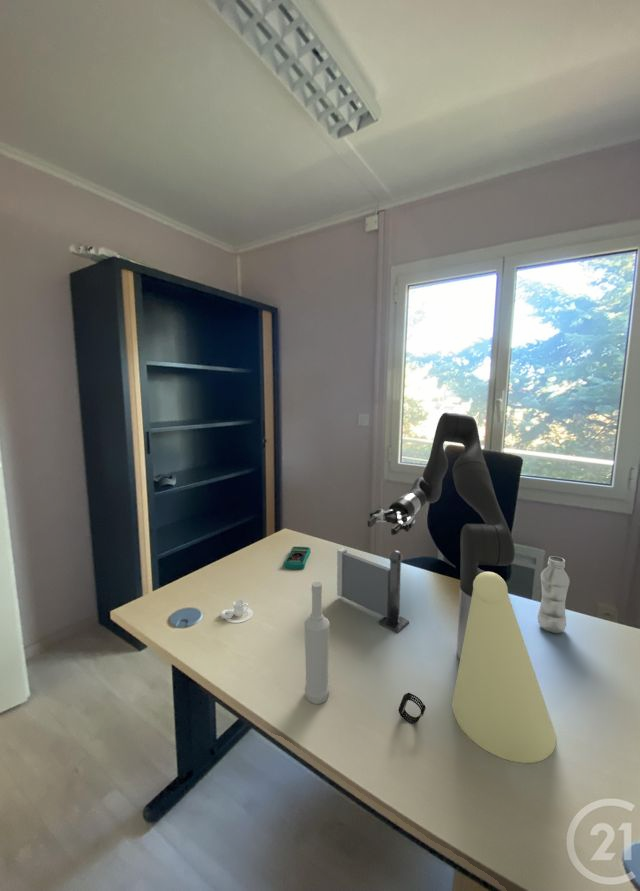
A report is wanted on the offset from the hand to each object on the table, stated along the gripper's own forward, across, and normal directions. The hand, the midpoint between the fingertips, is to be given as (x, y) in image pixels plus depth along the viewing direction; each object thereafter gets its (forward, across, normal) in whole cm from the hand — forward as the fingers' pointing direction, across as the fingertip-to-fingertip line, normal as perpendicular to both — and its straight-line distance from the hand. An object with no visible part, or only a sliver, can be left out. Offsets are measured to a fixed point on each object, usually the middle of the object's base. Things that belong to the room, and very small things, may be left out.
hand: (380, 528), depth 115 cm
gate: (+14, +2, +18) cm, 23 cm away
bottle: (+46, +13, +13) cm, 50 cm away
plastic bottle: (-11, +46, +22) cm, 52 cm away
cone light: (+30, +44, +14) cm, 55 cm away
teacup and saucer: (+40, -27, +17) cm, 51 cm away
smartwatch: (+39, +30, +13) cm, 52 cm away
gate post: (+14, +13, +19) cm, 27 cm away
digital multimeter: (+4, -36, +24) cm, 43 cm away
